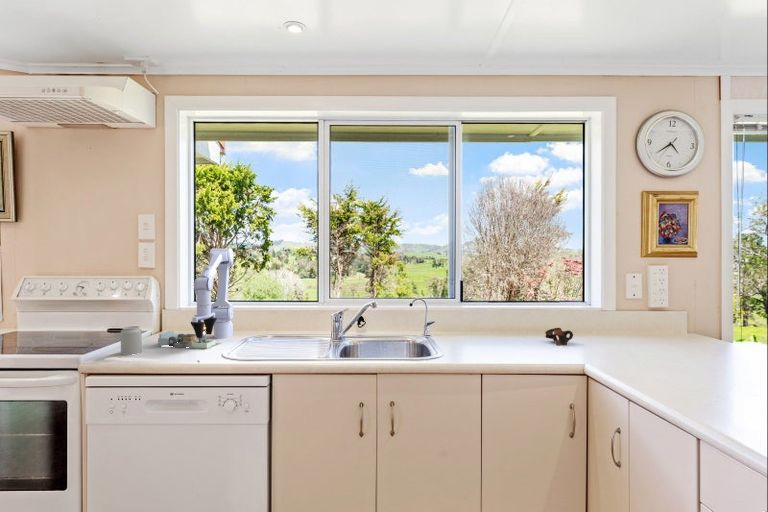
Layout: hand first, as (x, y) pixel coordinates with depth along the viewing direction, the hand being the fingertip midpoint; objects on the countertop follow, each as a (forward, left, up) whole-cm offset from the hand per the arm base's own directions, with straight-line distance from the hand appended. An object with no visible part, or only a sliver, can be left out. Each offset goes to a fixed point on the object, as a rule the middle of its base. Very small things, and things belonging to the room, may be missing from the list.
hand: (204, 336), depth 195 cm
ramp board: (-2, -8, -6) cm, 10 cm away
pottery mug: (-35, +155, -6) cm, 159 cm away
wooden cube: (-5, -10, -5) cm, 13 cm away
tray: (0, 0, -5) cm, 5 cm away
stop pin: (0, -1, -4) cm, 4 cm away
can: (+15, -23, -6) cm, 28 cm away
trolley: (-2, -16, -5) cm, 17 cm away
